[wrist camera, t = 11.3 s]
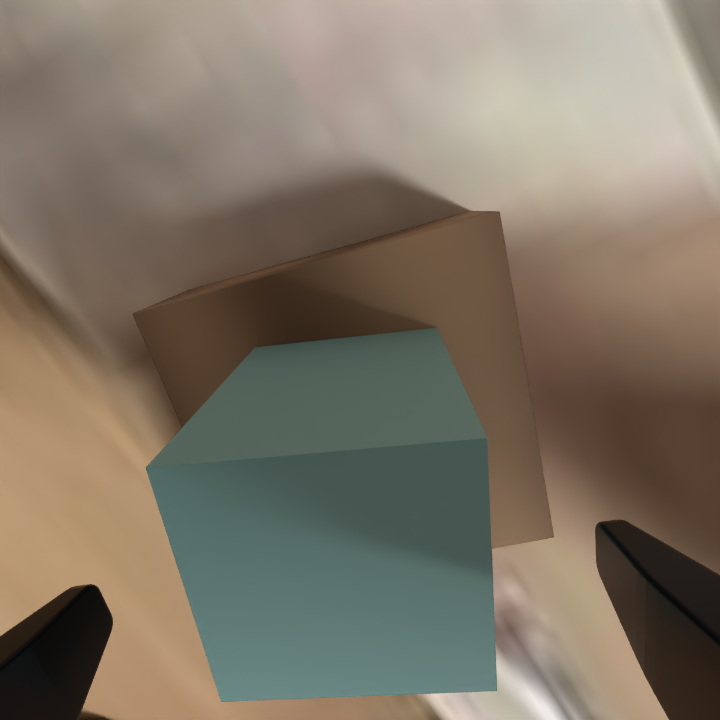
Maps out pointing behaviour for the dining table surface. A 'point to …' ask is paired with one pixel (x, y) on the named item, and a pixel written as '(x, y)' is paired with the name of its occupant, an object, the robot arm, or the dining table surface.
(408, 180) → the dining table surface
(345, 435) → the teal block
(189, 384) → the walnut block
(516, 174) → the dining table surface
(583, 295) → the dining table surface
